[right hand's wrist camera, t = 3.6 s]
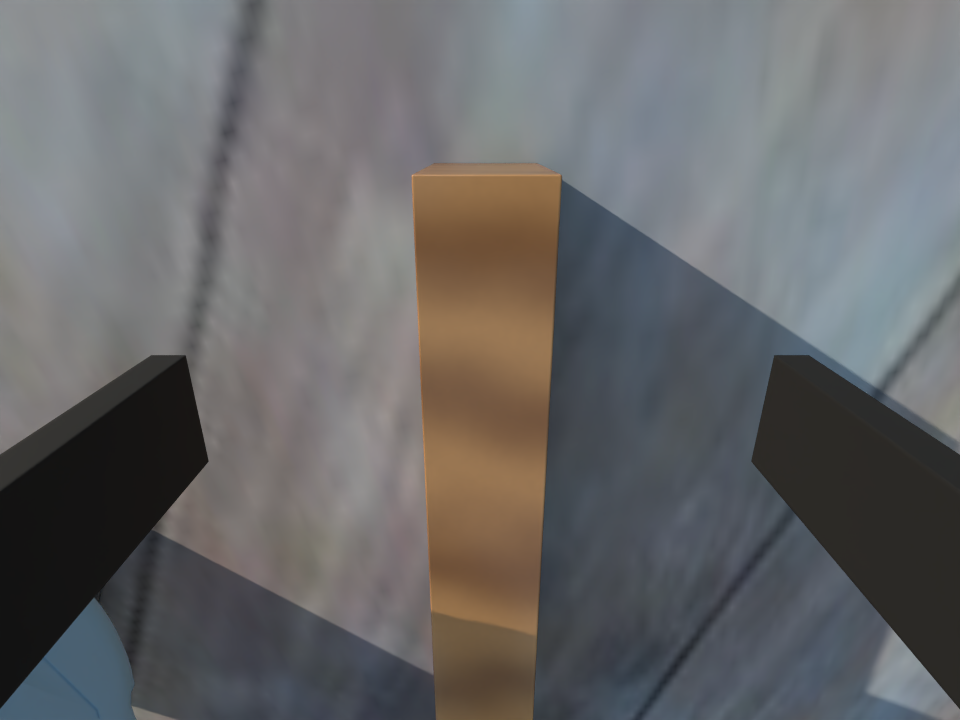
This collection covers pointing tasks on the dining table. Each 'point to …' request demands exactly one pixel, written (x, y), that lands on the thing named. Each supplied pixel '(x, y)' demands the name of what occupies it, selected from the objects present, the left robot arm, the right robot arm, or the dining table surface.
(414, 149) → the dining table surface
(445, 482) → the post
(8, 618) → the right robot arm
